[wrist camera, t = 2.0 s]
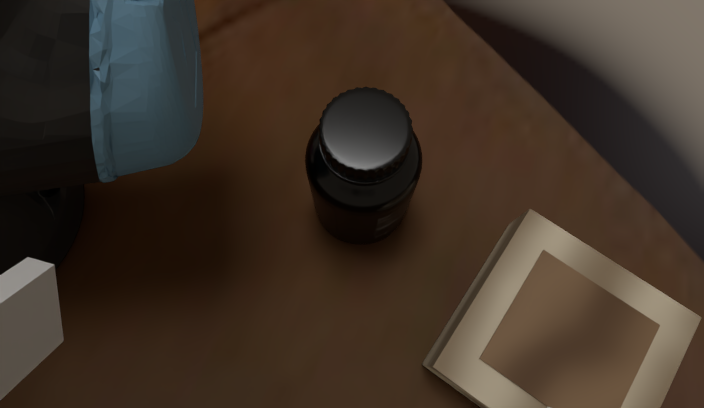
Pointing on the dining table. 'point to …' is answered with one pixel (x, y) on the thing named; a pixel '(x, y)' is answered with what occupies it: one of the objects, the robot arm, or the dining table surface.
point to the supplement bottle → (363, 165)
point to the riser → (560, 328)
